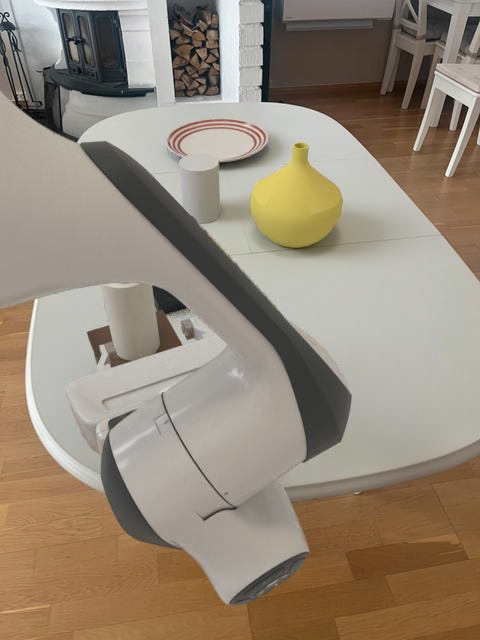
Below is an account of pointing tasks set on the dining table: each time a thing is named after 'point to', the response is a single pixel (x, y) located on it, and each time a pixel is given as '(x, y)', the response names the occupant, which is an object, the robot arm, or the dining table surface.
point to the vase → (296, 203)
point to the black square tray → (166, 301)
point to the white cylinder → (200, 186)
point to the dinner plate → (218, 138)
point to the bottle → (131, 319)
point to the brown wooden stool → (164, 329)
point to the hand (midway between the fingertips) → (147, 335)
